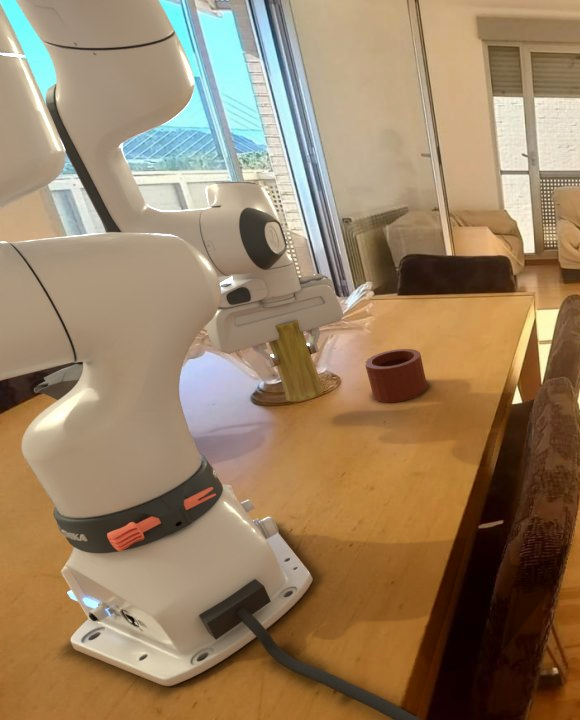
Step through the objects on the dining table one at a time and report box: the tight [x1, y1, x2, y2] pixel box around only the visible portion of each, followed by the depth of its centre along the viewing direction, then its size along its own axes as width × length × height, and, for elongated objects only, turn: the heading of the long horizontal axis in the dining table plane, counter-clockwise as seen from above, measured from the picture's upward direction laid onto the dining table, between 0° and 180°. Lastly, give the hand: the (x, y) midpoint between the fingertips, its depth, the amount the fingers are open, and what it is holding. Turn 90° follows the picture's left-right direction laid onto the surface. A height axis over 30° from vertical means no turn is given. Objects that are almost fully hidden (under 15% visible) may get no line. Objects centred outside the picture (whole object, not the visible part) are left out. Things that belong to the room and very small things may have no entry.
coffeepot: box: [33, 362, 83, 401], centre depth 80 cm, size 15×9×18 cm, turn 171°
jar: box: [364, 348, 428, 404], centre depth 98 cm, size 10×10×8 cm
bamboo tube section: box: [268, 320, 325, 403], centre depth 85 cm, size 6×6×14 cm
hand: (293, 359), depth 85 cm, fingers closed on bamboo tube section, 5 cm apart
